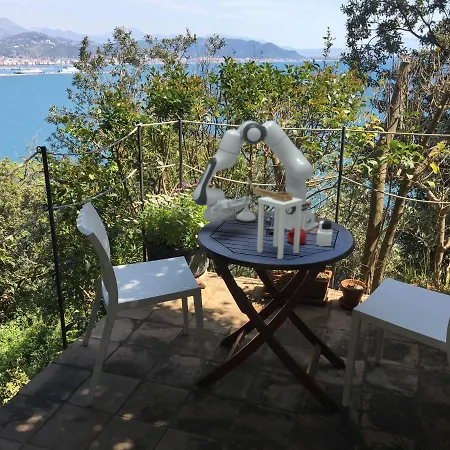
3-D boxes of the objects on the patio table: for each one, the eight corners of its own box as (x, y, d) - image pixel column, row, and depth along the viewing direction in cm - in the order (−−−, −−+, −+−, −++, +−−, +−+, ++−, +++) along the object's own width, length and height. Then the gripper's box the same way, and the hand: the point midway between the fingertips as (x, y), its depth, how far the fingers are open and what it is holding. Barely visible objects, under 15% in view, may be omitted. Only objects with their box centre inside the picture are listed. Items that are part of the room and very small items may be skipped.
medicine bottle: (331, 242, 229) (333, 220, 225) (330, 247, 222) (332, 224, 219) (317, 241, 231) (318, 219, 227) (316, 246, 224) (317, 222, 221)
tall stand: (275, 245, 225) (277, 194, 217) (299, 253, 214) (303, 199, 207) (256, 251, 216) (258, 198, 208) (280, 260, 205) (283, 204, 198)
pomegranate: (304, 239, 234) (305, 222, 231) (307, 246, 224) (308, 228, 221) (285, 239, 234) (286, 222, 231) (287, 245, 224) (288, 227, 222)
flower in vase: (254, 223, 260) (256, 180, 252) (235, 222, 261) (236, 179, 254) (256, 217, 272) (258, 176, 265) (238, 216, 274) (238, 175, 266)
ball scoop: (259, 192, 220) (259, 186, 220) (292, 199, 206) (292, 193, 206) (250, 194, 216) (250, 188, 215) (283, 202, 202) (283, 195, 201)
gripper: (209, 205, 229) (225, 196, 219) (237, 199, 242) (254, 190, 232) (213, 217, 228) (229, 208, 218) (241, 210, 242) (258, 202, 232)
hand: (242, 199), depth 225 cm, fingers open, 8 cm apart
